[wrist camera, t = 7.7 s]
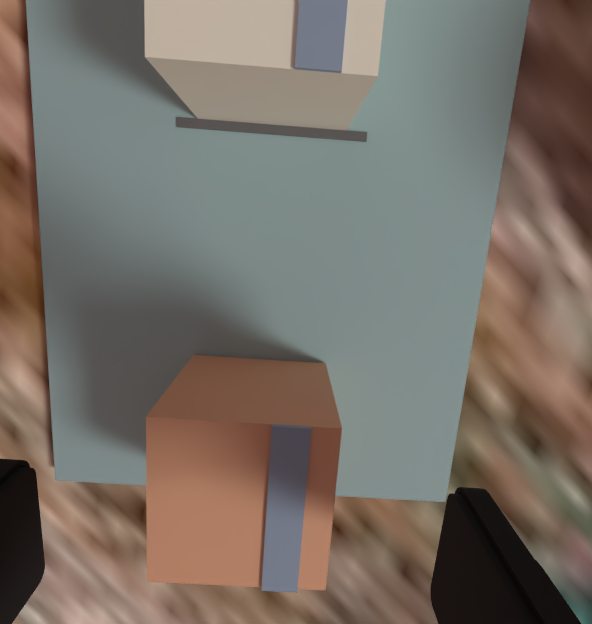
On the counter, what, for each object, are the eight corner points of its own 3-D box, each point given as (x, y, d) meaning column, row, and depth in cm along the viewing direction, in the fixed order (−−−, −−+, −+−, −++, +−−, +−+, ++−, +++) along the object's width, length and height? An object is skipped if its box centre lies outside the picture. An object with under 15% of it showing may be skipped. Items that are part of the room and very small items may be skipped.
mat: (17, -345, 11) (0, -380, 11) (568, -285, 12) (585, -316, 11) (63, 471, 17) (54, 481, 16) (440, 492, 17) (445, 503, 16)
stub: (193, 354, 15) (144, 418, 10) (325, 363, 15) (342, 430, 10) (191, 473, 16) (146, 584, 11) (314, 480, 16) (325, 593, 11)
